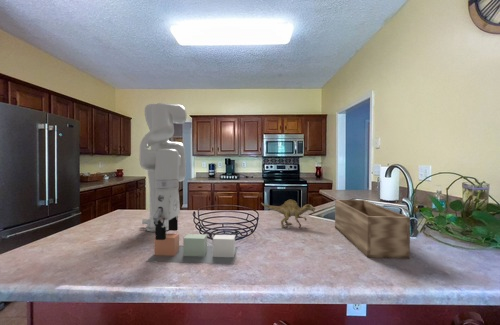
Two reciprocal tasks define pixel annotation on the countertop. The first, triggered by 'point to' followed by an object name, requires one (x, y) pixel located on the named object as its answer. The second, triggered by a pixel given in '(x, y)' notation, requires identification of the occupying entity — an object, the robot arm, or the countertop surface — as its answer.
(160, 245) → the terracotta brick
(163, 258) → the baseplate
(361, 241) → the toy crate
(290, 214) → the dinosaur figurine
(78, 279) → the countertop surface
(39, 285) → the countertop surface
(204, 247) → the sage brick
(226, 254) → the offwhite brick
